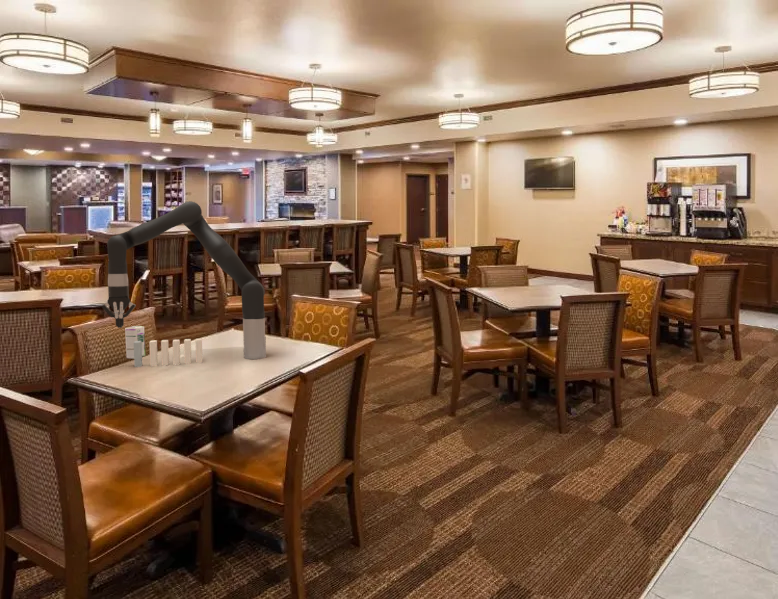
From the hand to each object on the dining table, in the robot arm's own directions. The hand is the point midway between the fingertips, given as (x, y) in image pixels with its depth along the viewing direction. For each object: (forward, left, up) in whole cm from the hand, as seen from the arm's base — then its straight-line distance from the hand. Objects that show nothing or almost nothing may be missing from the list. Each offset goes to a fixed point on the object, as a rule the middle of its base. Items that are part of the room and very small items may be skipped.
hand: (119, 327), depth 242 cm
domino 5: (-26, 0, -16) cm, 31 cm away
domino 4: (-22, 0, -16) cm, 27 cm away
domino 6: (-31, 0, -16) cm, 35 cm away
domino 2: (-13, 0, -16) cm, 21 cm away
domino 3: (-17, 0, -16) cm, 24 cm away
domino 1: (-7, 0, -16) cm, 17 cm away
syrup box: (-4, -16, -16) cm, 24 cm away
